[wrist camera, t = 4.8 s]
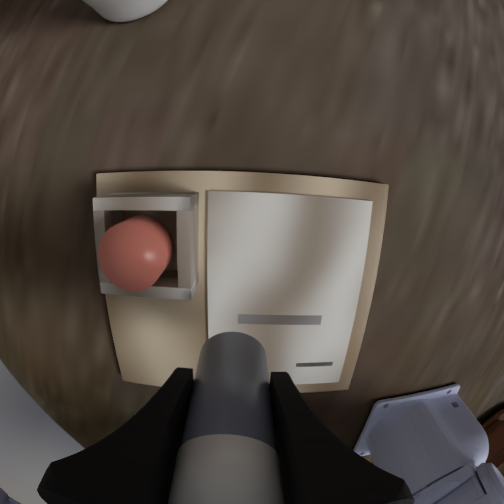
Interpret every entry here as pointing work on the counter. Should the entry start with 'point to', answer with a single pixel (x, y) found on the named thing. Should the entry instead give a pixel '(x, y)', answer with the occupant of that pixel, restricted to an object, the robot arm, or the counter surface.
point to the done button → (135, 252)
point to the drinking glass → (124, 8)
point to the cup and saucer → (495, 438)
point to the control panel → (247, 270)
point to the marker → (229, 428)
